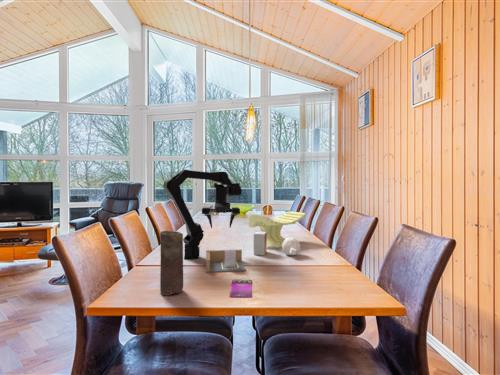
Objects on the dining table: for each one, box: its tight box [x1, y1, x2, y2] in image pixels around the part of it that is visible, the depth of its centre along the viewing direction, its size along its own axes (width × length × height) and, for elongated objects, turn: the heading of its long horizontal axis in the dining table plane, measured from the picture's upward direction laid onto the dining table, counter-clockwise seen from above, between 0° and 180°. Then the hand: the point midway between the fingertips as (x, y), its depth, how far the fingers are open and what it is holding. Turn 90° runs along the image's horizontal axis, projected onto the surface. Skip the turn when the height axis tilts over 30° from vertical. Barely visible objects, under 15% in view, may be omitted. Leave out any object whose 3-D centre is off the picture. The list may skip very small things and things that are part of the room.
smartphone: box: [229, 279, 253, 299], centre depth 100 cm, size 7×15×1 cm, turn 0°
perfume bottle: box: [281, 236, 301, 257], centre depth 145 cm, size 9×9×12 cm
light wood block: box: [224, 249, 237, 268], centre depth 126 cm, size 8×4×7 cm, turn 8°
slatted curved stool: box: [248, 210, 307, 249], centre depth 171 cm, size 30×16×18 cm, turn 126°
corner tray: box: [205, 249, 247, 274], centre depth 126 cm, size 16×16×5 cm
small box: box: [253, 231, 267, 256], centre depth 149 cm, size 8×6×10 cm
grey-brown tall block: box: [159, 230, 184, 296], centre depth 97 cm, size 8×7×20 cm
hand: (220, 227), depth 147 cm, fingers open, 9 cm apart
